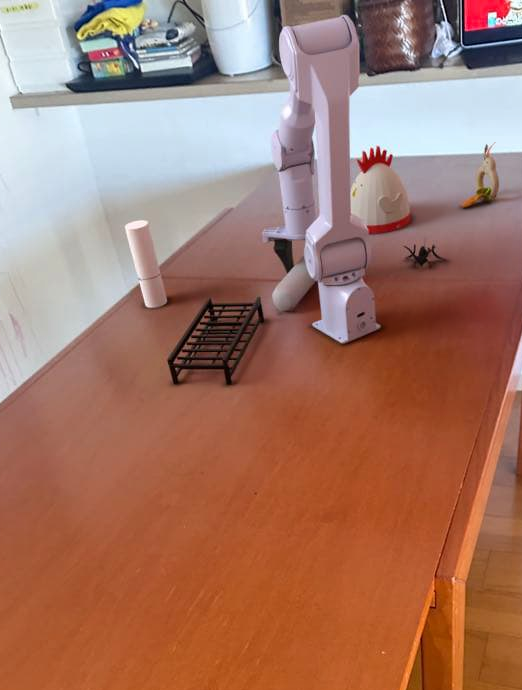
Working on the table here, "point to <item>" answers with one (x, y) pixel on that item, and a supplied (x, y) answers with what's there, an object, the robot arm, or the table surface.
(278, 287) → the tube
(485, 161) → the rattle
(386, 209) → the kitchen timer
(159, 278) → the tube
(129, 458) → the table surface
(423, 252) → the creature
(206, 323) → the shoe rack
